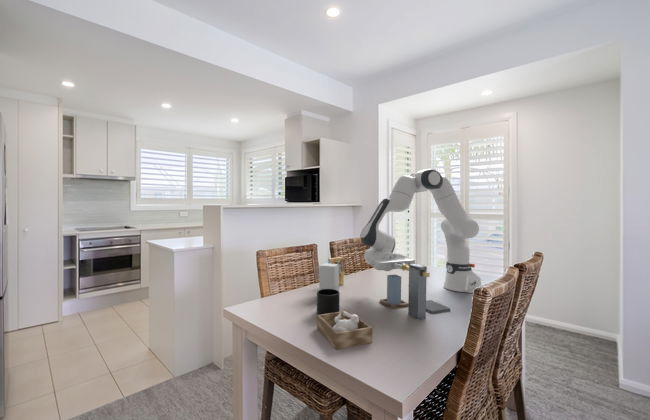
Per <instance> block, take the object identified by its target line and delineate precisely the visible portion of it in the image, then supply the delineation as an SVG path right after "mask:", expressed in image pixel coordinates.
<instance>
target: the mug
mask: <svg viewBox="0 0 650 420" xmlns="http://www.w3.org/2000/svg"><path fill="white" fill-rule="evenodd" d="M340 295H341V294H340V290H339V291H337V290H334V289H322V290H320V289H319V290H317V292H316V314H317V315H321V314H328V313H335V312H340V299H341V298H340Z"/></svg>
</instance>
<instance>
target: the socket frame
mask: <svg viewBox="0 0 650 420" xmlns="http://www.w3.org/2000/svg"><path fill="white" fill-rule="evenodd" d="M379 303H381V304H382V305H384V306H386V307H388V308H389V309H391V310H392V309H398V308H404V307H405V308H406V307H408V302H407V301H405V300H403V299H401V304H397V305H390V304H388V303H387V297H386V298H381V299H379Z"/></svg>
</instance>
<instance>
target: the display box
mask: <svg viewBox="0 0 650 420" xmlns="http://www.w3.org/2000/svg"><path fill="white" fill-rule="evenodd" d="M344 311H345V312H348V313H350V314H351V315H353V314H354V313H353V312H352V311H351V310H344ZM344 311H343V310H342V311H339V312H335V313H328V314H321V315H318V314H317V315H316V328H317V330H318V332H320V333H321V334H322V336H324V338H325V339H326V340H327V341H328V342H329V343H330V344H331V345H332V347H333V348H334V349H335V350H341V349H345V348H346V349H347V348H350V347H356V346H357V347H358V346H360V345H361V346H363V345H365V344H372V343H373V327H372V326H371V325H370V324H368V323H366V321H364V320H362V319H361V318H360V317H359V316H358V318H359V323H358V329H355V330H349V331H344V332H337V331H336V330H335V329H334V328H333V327H334V326H335V325H336V322H335V321H334V319H335V317H337V316H338V315H339V314H340V313H341V315H340V316H341V318H339V319H340V320H343V319H346V320H349V319H350V317H347V316H344V315H343V313H344Z"/></svg>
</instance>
